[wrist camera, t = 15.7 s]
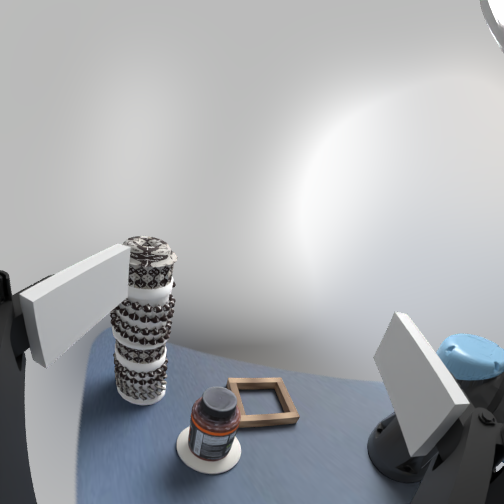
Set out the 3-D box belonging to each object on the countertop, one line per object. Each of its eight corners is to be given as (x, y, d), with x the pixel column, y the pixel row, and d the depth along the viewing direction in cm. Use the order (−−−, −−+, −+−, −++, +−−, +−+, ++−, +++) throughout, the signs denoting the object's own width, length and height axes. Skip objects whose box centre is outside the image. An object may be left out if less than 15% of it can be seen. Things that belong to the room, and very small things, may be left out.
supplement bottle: (192, 426, 35) (200, 374, 31) (232, 436, 35) (248, 386, 31) (182, 456, 29) (188, 408, 26) (226, 467, 29) (243, 422, 26)
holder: (278, 384, 49) (281, 377, 48) (296, 423, 40) (299, 416, 39) (226, 384, 46) (228, 377, 46) (237, 427, 37) (239, 421, 36)
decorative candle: (115, 366, 42) (115, 228, 35) (165, 370, 46) (180, 235, 39) (112, 404, 34) (104, 250, 27) (170, 407, 38) (186, 259, 31)
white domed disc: (233, 425, 37) (234, 423, 37) (246, 472, 29) (247, 470, 29) (174, 424, 35) (174, 422, 35) (179, 473, 26) (179, 472, 26)
